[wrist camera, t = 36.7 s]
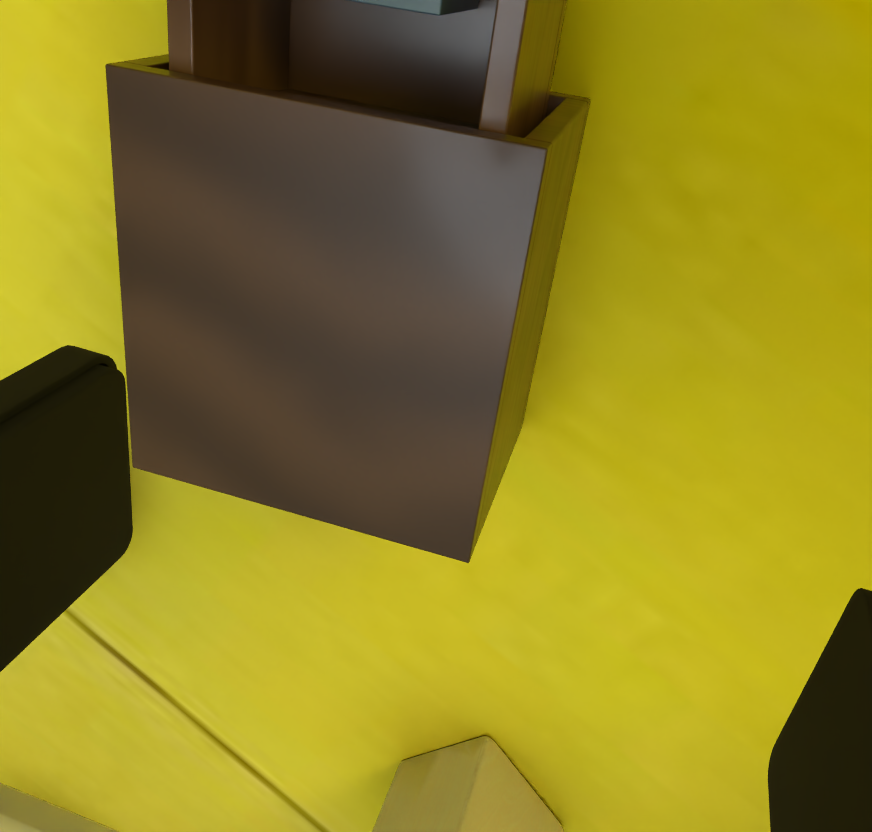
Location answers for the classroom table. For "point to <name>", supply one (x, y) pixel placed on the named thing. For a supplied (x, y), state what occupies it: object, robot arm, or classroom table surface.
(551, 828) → the toy refrigerator
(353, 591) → the classroom table surface
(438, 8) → the block
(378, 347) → the cabinet
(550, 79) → the drawer
